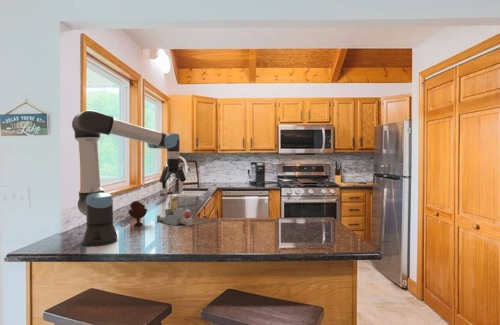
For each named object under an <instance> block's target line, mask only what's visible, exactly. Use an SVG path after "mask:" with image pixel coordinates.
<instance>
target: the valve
mask: <svg viewBox="0 0 500 325" xmlns="http://www.w3.org/2000/svg"><path fill="white" fill-rule="evenodd" d="M190 213H191V212H190V211H189V210H187V209H186V210H184V208H183V207H182V208H177V209H175V210H173V215H171V207H169V208H165V209H164V214H163V213H162V214H157V215H156V222H157V223H159V222H163V224H164V225H171V226H178V225H185V227H188V226H189V227H190V226H192V225H193V220H194V219H193V217H190V216H191V215H190Z"/></svg>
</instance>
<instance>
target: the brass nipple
mask: <svg viewBox="0 0 500 325" xmlns="http://www.w3.org/2000/svg"><path fill="white" fill-rule="evenodd" d="M170 208H171V215H173V210H175V209H178V197H177V196H172V197H170Z"/></svg>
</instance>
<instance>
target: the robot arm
mask: <svg viewBox="0 0 500 325" xmlns="http://www.w3.org/2000/svg"><path fill="white" fill-rule="evenodd" d="M71 127H72V129H73V131H74V139H75V140H76V141H77V142H78V152H79V165H80V167H79V168H80V179H81V180H80V181H81V189H80V190H79V191H78V201H77V207H78V208H77V209H78V210H79V212H80V213H81V214H82V215H84V216H85V217H86V229H85V231H84V235H83V238H82V244H83V245H84V246H87V247H88V246H89V247H95V246H96V247H97V246H105V245H109V244H113V243H116V242H117V241H118V233H117V231H116V228H115V226H114V207H113V206H114V199H113V195H112V194H111V193H107V192H105V191H104V190H105V189H104V188H102V186H101V178H100V177H101V176H100V164H99V161H100V160H99V147H98V141H99V140H100V139H101V134H102V135H107V136H110V135H115V136H119V137H122V138H126V139H129V140H130V139H131V140H134V141H140V142H142V143H146V144H147V148H149V149H158V150H159V149H161V150H162V149H166V158H167V159H166V163H167V164H166V165H167V166H166V165H165V166H163V169H162V173H161V176H160V178H159V182H160V183H161V186H162V194H163V195H168V183H167V182H168V180H169V178H170V177H171V176H172V174H175V175H176V177H177V179H178V180H179V182H178V192H179V193H183V192H184V182H185V181H187V178H186V175H185V173H184V169H183V166H182V165H180V164H181V163H180V161H181V160H180V147H181V146H180V143H181V140H180V134H179V133H175V132H174V133H171V132H170V133H165V132H161V131H158V130H153V129H150V128H146V127H143V126H139V125H137V124H132V123H130V122H125V121H122V120H118V119H116V118H115V117H114V116H111V115H109V114H106V113H103V112H99V111H96V110H93V109H91V110H90V109H87V110H85V111H82V112H79V113H78V114H76V115H75V116H74V118H72V122H71Z"/></svg>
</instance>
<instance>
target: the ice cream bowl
mask: <svg viewBox="0 0 500 325" xmlns="http://www.w3.org/2000/svg"><path fill="white" fill-rule="evenodd" d="M129 207H130V209H128V210H127V211H128V215H129V216H130V217H131V218H133V219H134V220H135V219H136V223H134V224H133V227H143V226H144V223H141V222H140V219H143V218H144V217H145V216H146V215H147V213H148V208H146V207H145V205H144V204H143V203H141V202H140V201H139V200H134V201H132V202H130V205H129Z"/></svg>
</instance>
